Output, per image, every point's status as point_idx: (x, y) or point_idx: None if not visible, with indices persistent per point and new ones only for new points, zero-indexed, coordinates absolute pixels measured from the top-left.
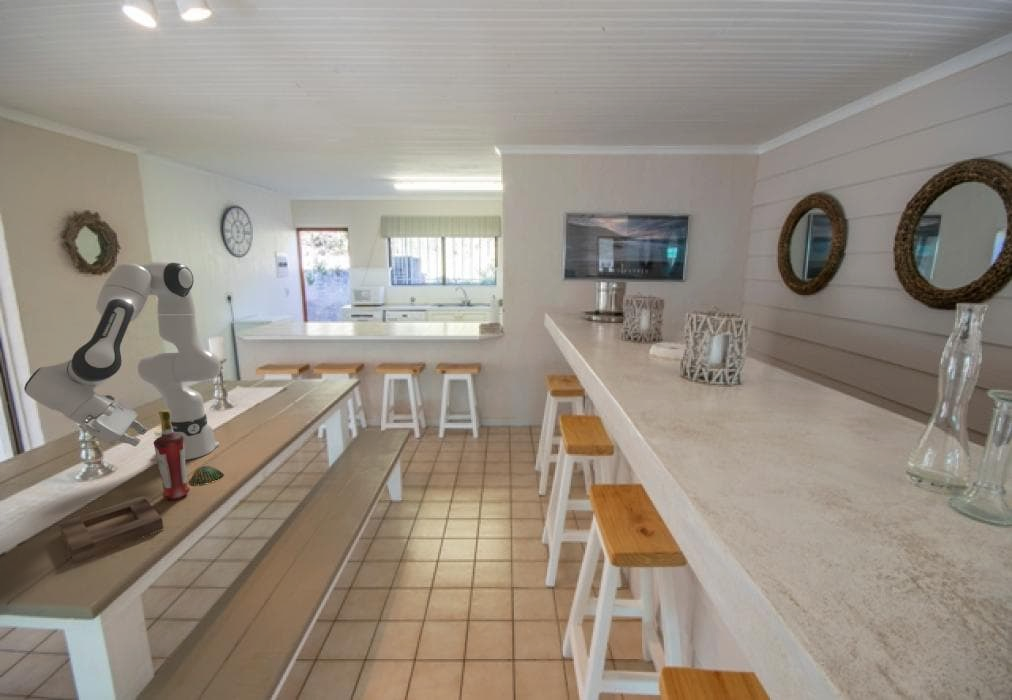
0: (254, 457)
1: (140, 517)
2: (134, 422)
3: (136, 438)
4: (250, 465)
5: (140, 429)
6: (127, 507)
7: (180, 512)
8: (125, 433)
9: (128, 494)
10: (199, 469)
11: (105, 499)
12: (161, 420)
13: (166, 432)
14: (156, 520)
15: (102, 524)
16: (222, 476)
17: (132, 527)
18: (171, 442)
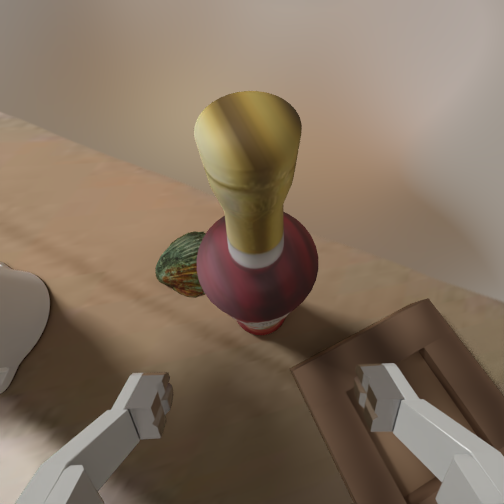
0: (131, 188)
1: (416, 347)
2: (74, 498)
3: (381, 386)
4: (170, 191)
5: (154, 415)
6: (348, 397)
7: (343, 286)
8: (481, 490)
9: (196, 433)
10: (180, 266)
11: (199, 496)
12: (275, 212)
13: (283, 236)
14: (434, 308)
15: (399, 444)
16: (203, 232)
17: (463, 353)
18: (310, 236)
